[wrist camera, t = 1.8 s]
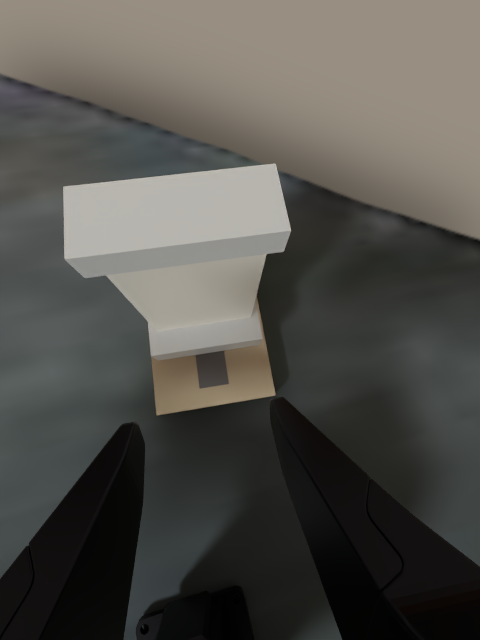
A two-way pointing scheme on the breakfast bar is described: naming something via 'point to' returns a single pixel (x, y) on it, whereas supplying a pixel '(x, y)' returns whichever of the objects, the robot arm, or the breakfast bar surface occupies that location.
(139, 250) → the fader tab
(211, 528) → the breakfast bar surface
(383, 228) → the breakfast bar surface
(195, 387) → the fader console
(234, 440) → the breakfast bar surface
